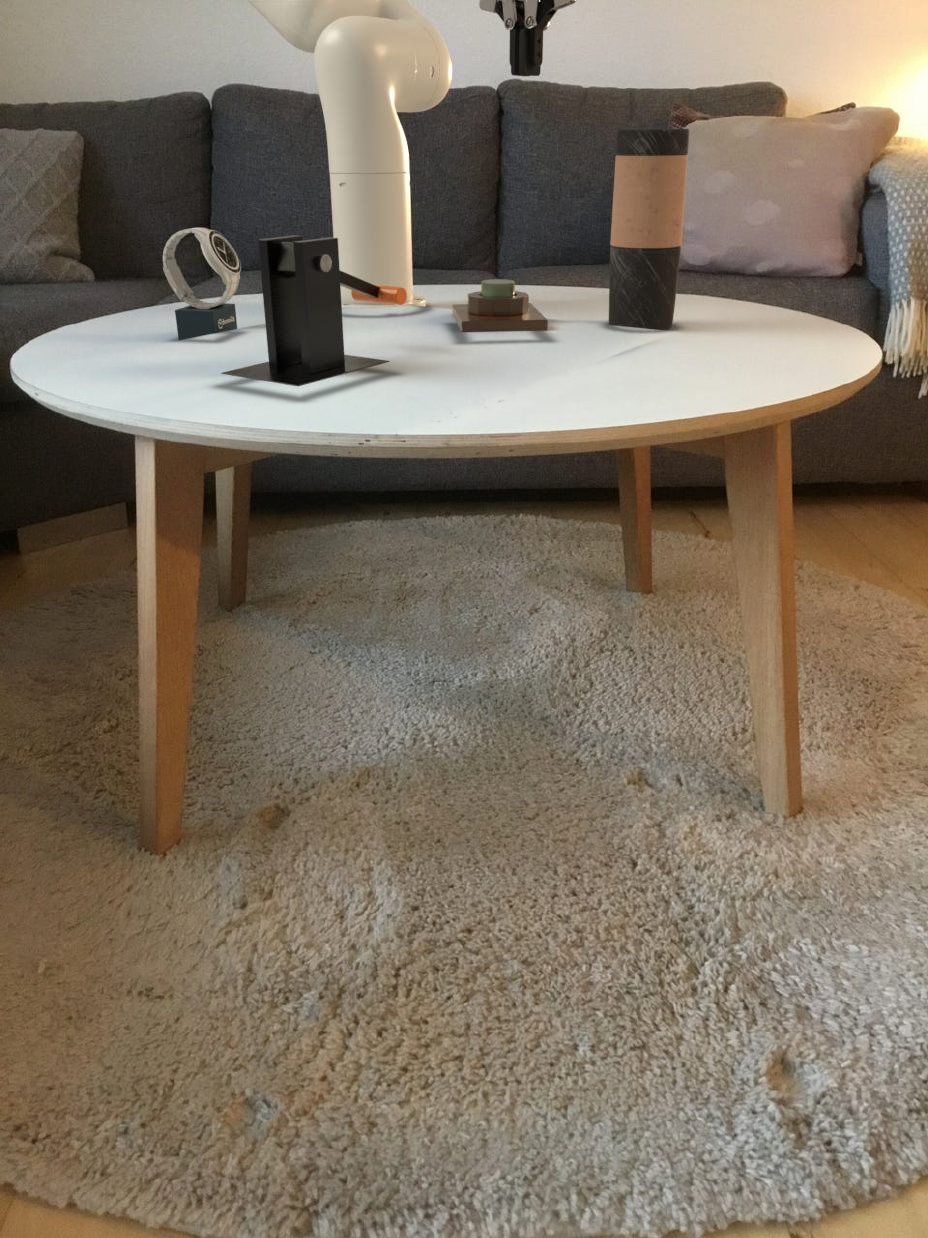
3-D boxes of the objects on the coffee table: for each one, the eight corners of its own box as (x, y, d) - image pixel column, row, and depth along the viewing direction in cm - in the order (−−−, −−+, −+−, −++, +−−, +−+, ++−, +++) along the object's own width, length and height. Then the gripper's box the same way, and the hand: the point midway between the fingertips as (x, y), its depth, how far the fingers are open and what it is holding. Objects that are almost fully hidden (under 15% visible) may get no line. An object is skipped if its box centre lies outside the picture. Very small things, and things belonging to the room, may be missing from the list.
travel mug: (680, 332, 110) (697, 128, 102) (610, 332, 110) (620, 129, 102) (668, 320, 117) (683, 128, 109) (602, 320, 117) (612, 129, 109)
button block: (452, 324, 116) (452, 287, 114) (530, 322, 117) (530, 286, 115) (461, 343, 105) (461, 303, 103) (547, 341, 106) (548, 301, 104)
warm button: (479, 296, 111) (479, 279, 110) (512, 295, 111) (512, 278, 110) (483, 300, 108) (483, 283, 107) (516, 300, 108) (517, 283, 107)
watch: (233, 342, 106) (222, 230, 102) (163, 339, 108) (149, 229, 103) (254, 333, 111) (244, 226, 107) (187, 330, 113) (174, 225, 108)
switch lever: (359, 306, 97) (363, 280, 96) (404, 311, 94) (409, 284, 94) (262, 269, 86) (266, 240, 85) (310, 273, 83) (315, 243, 82)
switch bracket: (316, 363, 96) (307, 230, 91) (390, 373, 92) (385, 235, 87) (222, 386, 87) (206, 241, 82) (298, 399, 83) (287, 247, 78)
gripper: (442, -142, 96) (445, 76, 104) (580, -167, 89) (571, 70, 97) (485, -127, 102) (485, 79, 110) (618, -149, 94) (608, 74, 102)
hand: (525, 74), depth 103 cm, fingers closed
